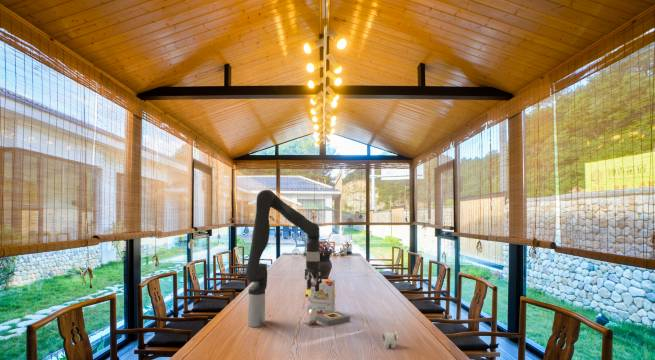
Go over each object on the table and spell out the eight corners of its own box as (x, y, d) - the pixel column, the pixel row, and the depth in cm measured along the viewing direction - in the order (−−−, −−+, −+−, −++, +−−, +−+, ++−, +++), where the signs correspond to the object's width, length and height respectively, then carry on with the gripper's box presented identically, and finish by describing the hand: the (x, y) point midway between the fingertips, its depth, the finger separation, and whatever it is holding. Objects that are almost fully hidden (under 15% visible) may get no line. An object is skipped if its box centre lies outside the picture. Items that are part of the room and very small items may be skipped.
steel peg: (307, 324, 203) (307, 309, 203) (314, 322, 205) (314, 308, 205) (311, 326, 199) (311, 310, 200) (318, 324, 202) (318, 309, 202)
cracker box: (310, 315, 225) (310, 280, 226) (313, 312, 230) (313, 278, 232) (332, 317, 220) (332, 281, 222) (335, 314, 226) (334, 279, 228)
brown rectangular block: (302, 325, 204) (302, 323, 204) (313, 323, 208) (313, 321, 208) (312, 331, 196) (312, 328, 196) (323, 328, 200) (323, 325, 200)
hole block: (315, 322, 210) (315, 315, 210) (337, 318, 218) (337, 310, 218) (327, 328, 200) (327, 320, 200) (349, 323, 208) (349, 315, 208)
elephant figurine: (394, 342, 180) (394, 327, 180) (399, 350, 170) (399, 334, 171) (379, 342, 179) (379, 327, 180) (382, 350, 170) (382, 334, 170)
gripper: (300, 258, 208) (300, 288, 207) (313, 261, 196) (313, 293, 195) (312, 257, 212) (312, 286, 211) (325, 260, 201) (325, 291, 199)
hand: (313, 289), depth 203 cm, fingers open, 8 cm apart
